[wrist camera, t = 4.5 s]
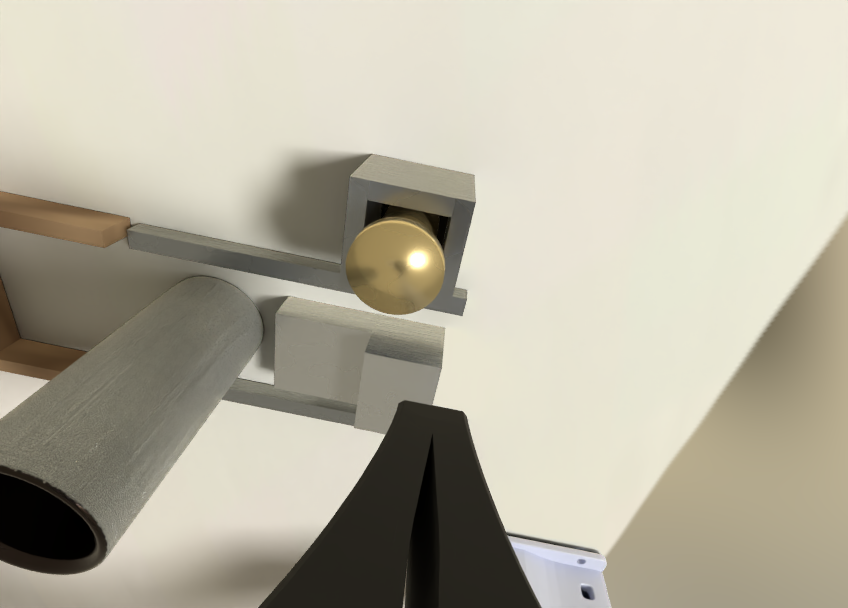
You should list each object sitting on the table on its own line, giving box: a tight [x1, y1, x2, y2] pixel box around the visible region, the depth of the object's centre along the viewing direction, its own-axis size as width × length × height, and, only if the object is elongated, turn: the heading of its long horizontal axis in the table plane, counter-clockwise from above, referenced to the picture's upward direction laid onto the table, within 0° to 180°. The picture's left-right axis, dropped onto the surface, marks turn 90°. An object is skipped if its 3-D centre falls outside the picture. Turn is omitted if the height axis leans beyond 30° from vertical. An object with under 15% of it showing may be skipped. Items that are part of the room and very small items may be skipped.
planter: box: [0, 276, 263, 575], centre depth 16 cm, size 4×4×10 cm
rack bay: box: [0, 191, 131, 381], centre depth 20 cm, size 7×8×2 cm
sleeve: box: [127, 223, 467, 426], centre depth 20 cm, size 14×8×1 cm, turn 80°
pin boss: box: [339, 154, 476, 311], centre depth 16 cm, size 4×5×4 cm
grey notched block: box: [274, 296, 445, 434], centre depth 19 cm, size 7×4×3 cm, turn 80°
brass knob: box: [345, 205, 445, 315], centre depth 14 cm, size 3×3×5 cm
